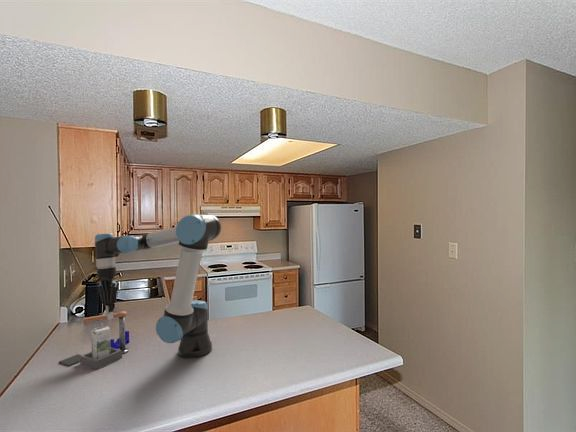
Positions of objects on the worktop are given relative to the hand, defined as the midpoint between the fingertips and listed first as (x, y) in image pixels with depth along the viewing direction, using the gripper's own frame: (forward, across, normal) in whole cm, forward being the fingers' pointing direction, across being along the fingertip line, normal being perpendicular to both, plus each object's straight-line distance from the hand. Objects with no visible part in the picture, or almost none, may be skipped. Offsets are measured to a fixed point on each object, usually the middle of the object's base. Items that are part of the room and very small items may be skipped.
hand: (110, 319), depth 142 cm
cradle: (+17, 0, +5) cm, 18 cm away
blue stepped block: (+17, +8, -8) cm, 20 cm away
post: (+17, 0, -5) cm, 18 cm away
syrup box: (+17, +1, +5) cm, 18 cm away
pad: (+16, +12, +10) cm, 23 cm away
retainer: (+1, +3, 0) cm, 3 cm away
